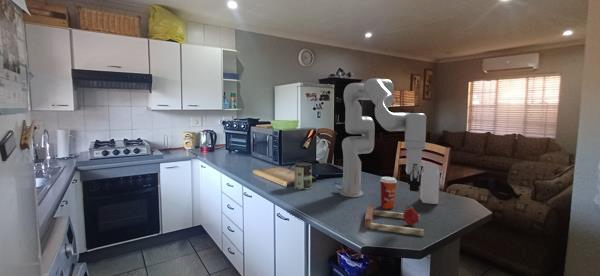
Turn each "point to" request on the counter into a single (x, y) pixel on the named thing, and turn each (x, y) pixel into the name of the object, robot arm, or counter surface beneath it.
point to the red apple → (410, 216)
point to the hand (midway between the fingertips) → (413, 187)
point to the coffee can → (303, 175)
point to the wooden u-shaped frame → (390, 228)
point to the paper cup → (388, 192)
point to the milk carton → (430, 184)
